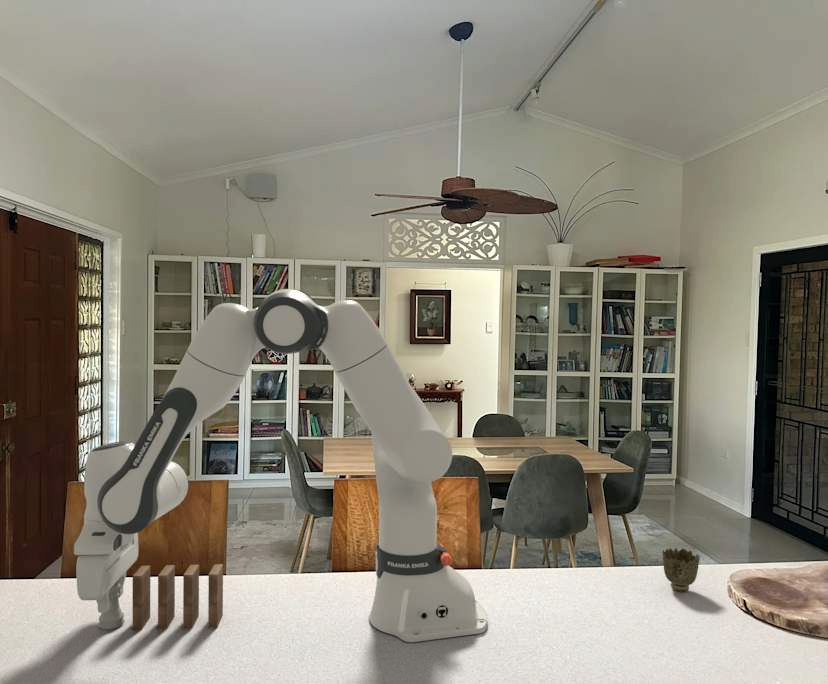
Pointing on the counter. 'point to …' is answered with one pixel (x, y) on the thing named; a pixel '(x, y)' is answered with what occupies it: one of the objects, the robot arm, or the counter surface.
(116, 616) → the rook chess piece
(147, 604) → the domino
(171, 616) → the domino
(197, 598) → the domino
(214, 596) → the domino
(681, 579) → the cup
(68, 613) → the counter surface
